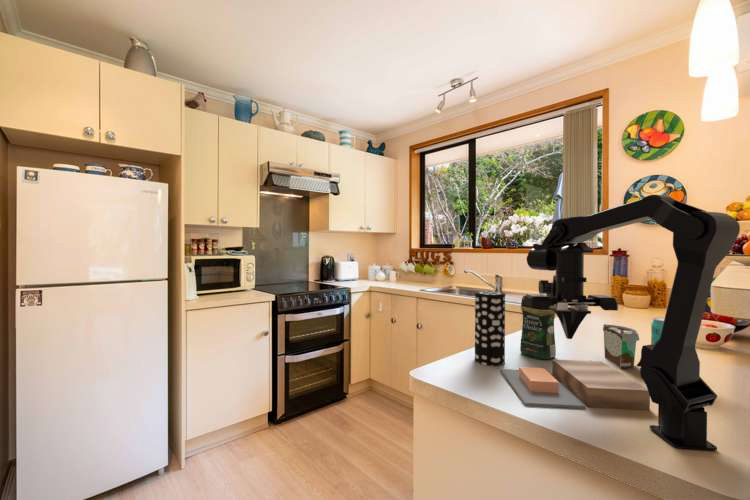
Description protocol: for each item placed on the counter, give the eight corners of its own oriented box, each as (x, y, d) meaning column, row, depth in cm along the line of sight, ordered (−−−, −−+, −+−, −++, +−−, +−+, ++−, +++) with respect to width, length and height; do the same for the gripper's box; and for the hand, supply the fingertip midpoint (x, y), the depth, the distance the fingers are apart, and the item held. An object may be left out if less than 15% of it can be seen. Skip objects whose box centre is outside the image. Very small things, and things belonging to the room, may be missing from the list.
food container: (649, 372, 91) (649, 335, 91) (623, 370, 92) (623, 334, 92) (625, 357, 103) (625, 324, 103) (602, 356, 104) (602, 323, 104)
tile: (530, 380, 77) (530, 391, 77) (558, 382, 76) (558, 392, 76) (519, 367, 86) (518, 376, 86) (543, 368, 85) (543, 377, 85)
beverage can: (646, 372, 91) (646, 316, 90) (671, 374, 89) (671, 317, 89) (659, 381, 85) (659, 321, 85) (686, 383, 84) (686, 322, 84)
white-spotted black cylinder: (481, 354, 105) (481, 290, 105) (508, 360, 100) (509, 292, 100) (470, 361, 99) (470, 293, 99) (498, 368, 94) (499, 295, 93)
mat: (585, 408, 70) (585, 405, 70) (525, 405, 72) (525, 402, 72) (546, 373, 90) (546, 370, 90) (500, 371, 91) (500, 368, 91)
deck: (649, 409, 70) (649, 390, 70) (587, 406, 71) (588, 387, 71) (601, 376, 88) (601, 361, 88) (552, 374, 89) (552, 359, 89)
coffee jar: (515, 353, 107) (516, 294, 107) (530, 349, 111) (531, 292, 111) (545, 362, 99) (545, 298, 98) (560, 357, 103) (560, 296, 103)
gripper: (592, 270, 87) (592, 331, 87) (517, 269, 89) (516, 329, 89) (619, 273, 76) (619, 343, 76) (532, 272, 78) (532, 341, 78)
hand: (568, 338), depth 80 cm, fingers closed
